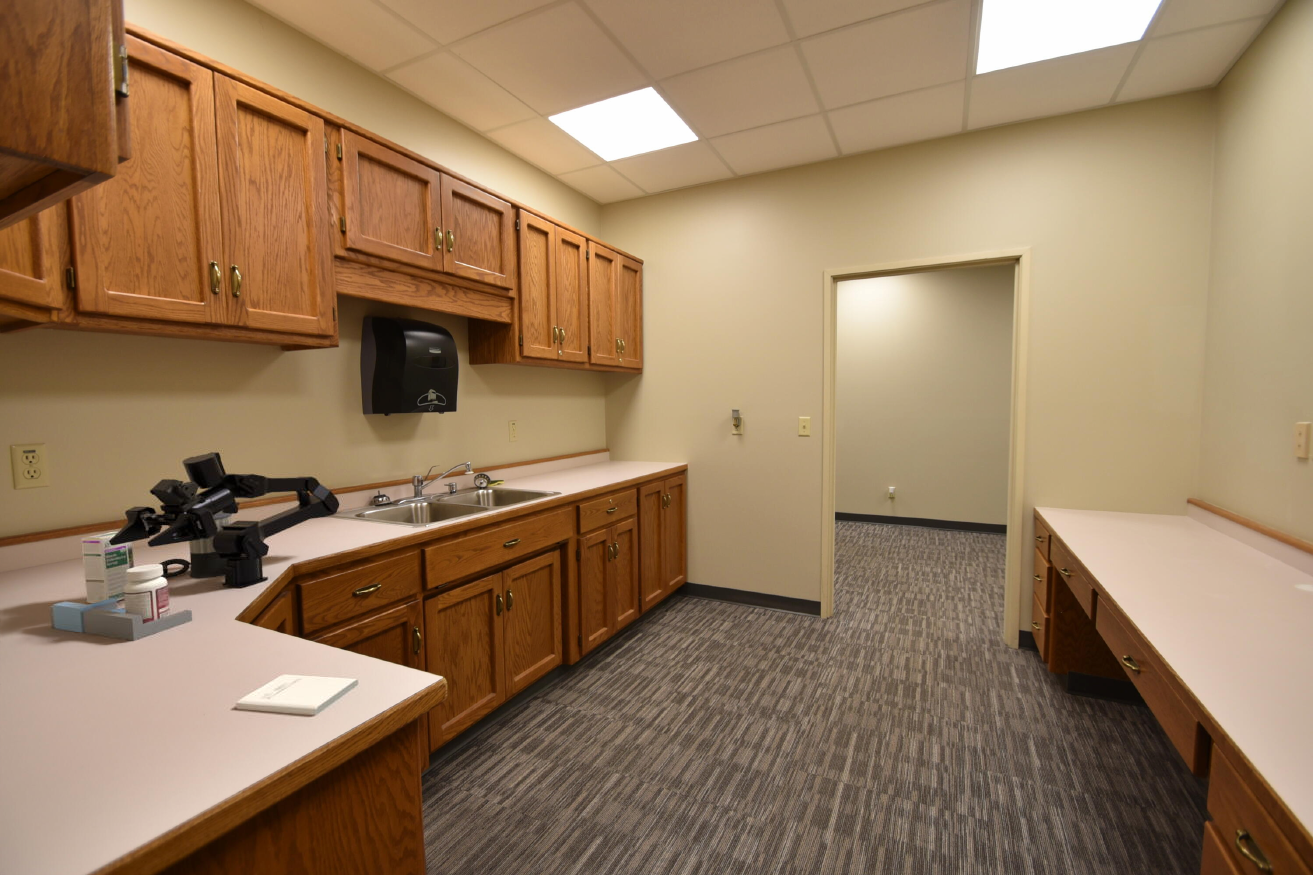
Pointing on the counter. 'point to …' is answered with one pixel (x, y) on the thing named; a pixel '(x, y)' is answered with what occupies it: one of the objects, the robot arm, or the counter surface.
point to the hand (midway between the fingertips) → (129, 543)
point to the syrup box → (105, 567)
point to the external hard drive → (297, 694)
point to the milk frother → (201, 555)
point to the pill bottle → (146, 592)
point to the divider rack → (110, 620)
